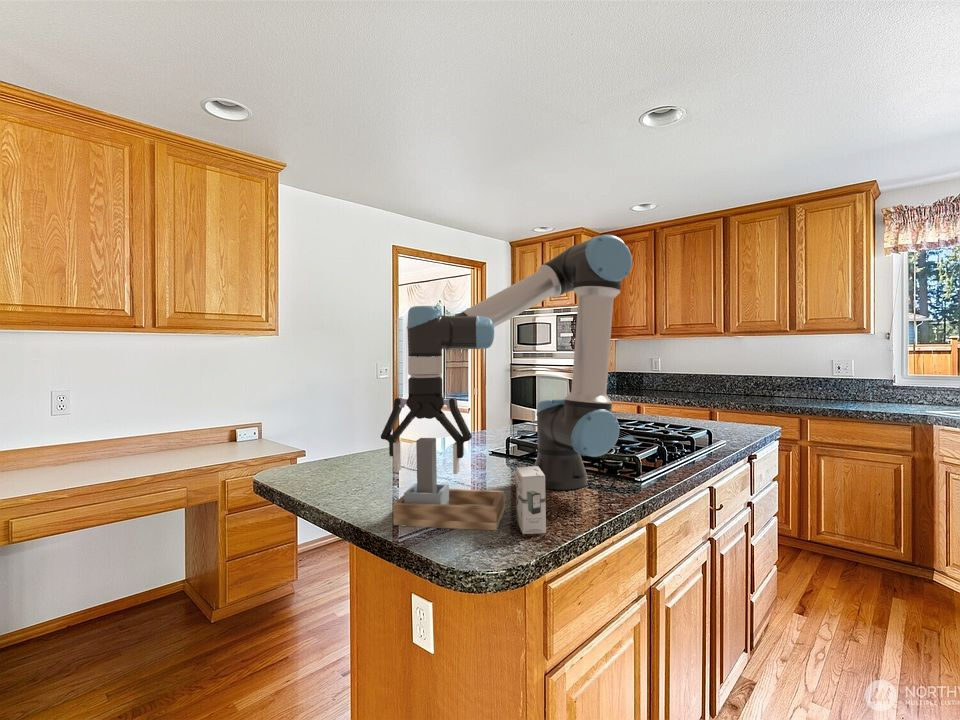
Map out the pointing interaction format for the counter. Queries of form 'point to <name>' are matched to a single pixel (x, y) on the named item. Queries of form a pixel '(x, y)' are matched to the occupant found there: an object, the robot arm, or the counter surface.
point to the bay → (454, 511)
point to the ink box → (531, 500)
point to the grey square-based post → (427, 477)
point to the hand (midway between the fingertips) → (426, 472)
